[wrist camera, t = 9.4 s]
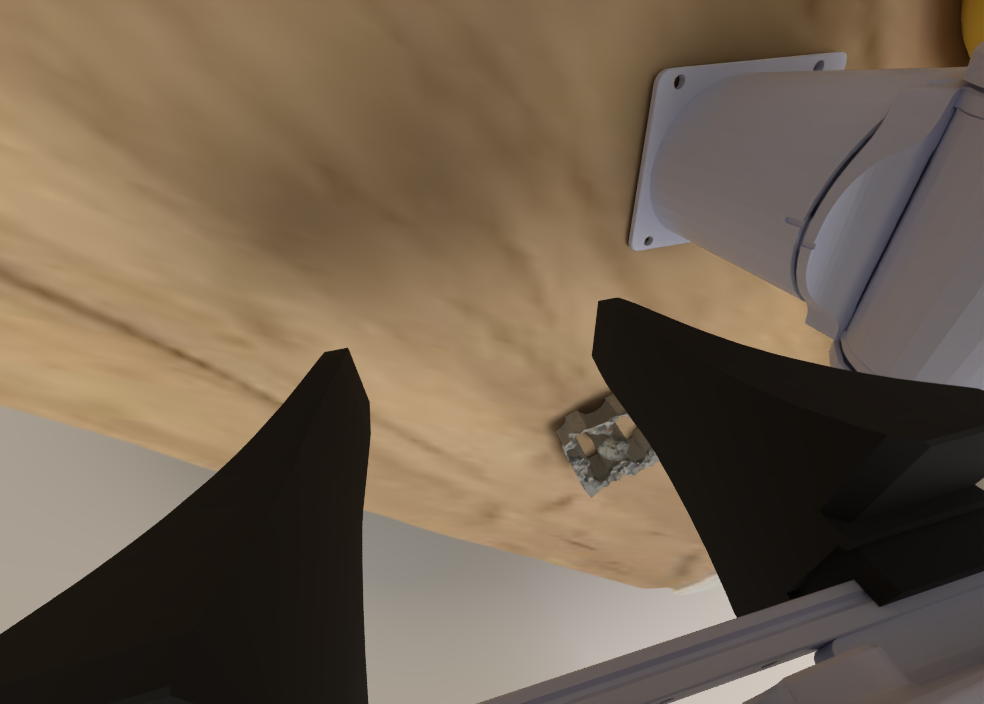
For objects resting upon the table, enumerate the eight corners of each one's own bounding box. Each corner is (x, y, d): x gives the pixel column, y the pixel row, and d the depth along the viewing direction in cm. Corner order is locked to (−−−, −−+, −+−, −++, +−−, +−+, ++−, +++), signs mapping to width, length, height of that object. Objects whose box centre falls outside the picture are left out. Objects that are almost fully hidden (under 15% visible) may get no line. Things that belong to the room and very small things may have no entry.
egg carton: (675, 357, 27) (714, 393, 24) (679, 416, 32) (712, 453, 29) (546, 416, 28) (567, 459, 25) (568, 465, 33) (588, 507, 29)
